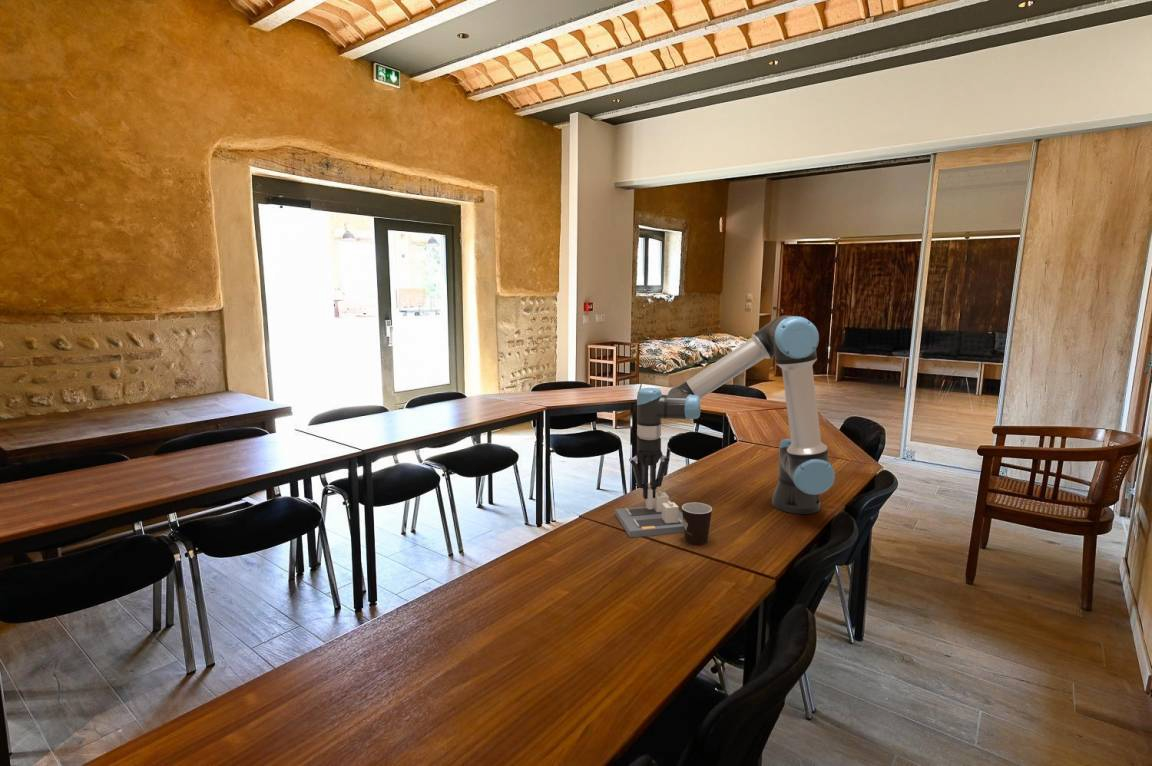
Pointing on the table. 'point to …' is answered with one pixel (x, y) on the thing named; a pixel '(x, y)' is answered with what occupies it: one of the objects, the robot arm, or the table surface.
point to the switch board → (647, 522)
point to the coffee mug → (696, 522)
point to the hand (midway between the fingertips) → (649, 507)
